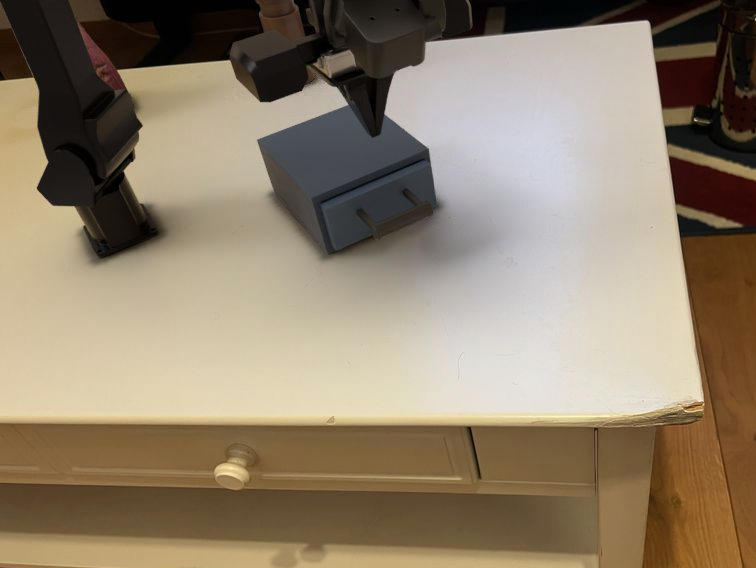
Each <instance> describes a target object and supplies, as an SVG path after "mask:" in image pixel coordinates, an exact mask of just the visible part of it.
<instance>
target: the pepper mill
mask: <svg viewBox="0 0 756 568" xmlns="http://www.w3.org/2000/svg"><path fill="white" fill-rule="evenodd" d="M255 3H256V4H258V5H259V9H260V11H259V13H258V17H259V20H260V24H261V27H262V30H263V33H265V32H268V31H271V30H276V31H277V32H278V33H280V34H281V35H282V36H283V37H285V38H286V39H287V40H289V41H290V42H292V41H295V40H298V39H300V38H303V37H306V32H305V28H304V26H303V21H302V17H301V14H300V9H299V6H298V5H297V4H295V2H294V0H255ZM306 68H307V72H308V76H309V78H308V80H307V82H306V84H305V85H307V84H309V83H310V82H311V83H312V81H313V80H314V79H315V78H316V74H315V73H314V72H313V71H311V70H310V69H309V68H308V67H307V66H306Z"/></svg>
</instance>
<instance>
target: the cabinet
mask: <svg viewBox="0 0 756 568" xmlns="http://www.w3.org/2000/svg"><path fill="white" fill-rule="evenodd" d="M256 142H257V145H258V149H259V151H260V154H261V157H262V160H263V163H264V167H265V169H266V172H267V176H268V178H269V181H270V184H271V188H272V190H273V193H274V195H275V196H276V198H278V199H279V200H280V201H281V203H282V204H283V206H285V208H287V210H288V211H289V212H290V213H291V214H292V215H293V217H294V218H295V219H296V220H297V221H298V222H299V224H300V225H301V226H302V227H303V228H304V229H305V231H306V232H307V233H308V234H309V235H310V236H311V237H312V238H313V239H314V241H315V242H316V243H317V245H319V247H320V248H321V249H322V250H323V251H324V252H325V253H326V254H327V255H330V254H332V253H334V252H337V251H336V250H335V249H334V248H333V246H332V245H331V243H330V239H329V235H328V232H327V228H326V225H325V221H324V218H323V214H322V211H321V207H320V204H321V202H322V201H324V200H326V199H329V198H331V197H334V196H336V195H338V194H341V193H343V192H345V191H348V190H350V189H352V188H355V187H357V186H360V185H362V184H364V183H367V182H369V181H371V180H374V179H376V178H378V177H381V176H383V175H386V174H388V173H390V172H393V171H395V170H397V169H400V168H402V167H405V166H407V165H409V164H412V163H413V164H415V163H418V162H420V161H422V160H426V161H428V162H429V163H430V164H431V165H432V162H431V156H430V155H431V153H430V149H429V147H427V146H426V145H425V144H423V142H421V141H419V140H418V139H417V138H416V137H415V136H413V135H412V134H411V133H410V132H408V131H407V130H406V129H404V128H403V127H402V126H401V125H399V124H398V123H396V122H395V121H394V120H392V119H391V118H390V117H389V116H388V115H386V113H385V114H384V119H383V125H382V130H381V134H380V135H379V136H376V137H374V138H372V137H371V136H369V135H368V134H367V132H366V131H365V129H364V128H363V126H362V125H361V123H360V122H359V120H358V118H357V117H356V115H355V114H354V112H353V111H352V109H351V108H350V106H349V105H348V104H346V105H344V106H342V107H339V108H336V109H333V110H331V111H328V112H326V113H324V114H320V115H318V116H315V117H312V118H310V119H307V120H305V121H302V122H300V123H297V124H294V125H292V126H289V127H286V128H284V129H281V130H278V131H276V132H273V133H271V134H268V135H265V136H262V137H260V138H258V139H256Z"/></svg>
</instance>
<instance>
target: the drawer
mask: <svg viewBox="0 0 756 568" xmlns="http://www.w3.org/2000/svg"><path fill="white" fill-rule="evenodd" d="M437 202H438V201H437V196H436V189H435V182H434V175H433V167H432V163H431V164H430V163H429V162H428V161H426V160H422V161H420V162H418V163H415V164H413V163H412V164H409V165H407V166H405V167H402V168H400V169H397V170H395V171H393V172H390V173H388V174H386V175H383V176H381V177H378V178H376V179H374V180H371V181H369V182H367V183H364V184H362V185H360V186H357V187H355V188H352V189H350V190H348V191H345V192H343V193H341V194H338V195H336V196H334V197H331V198H329V199H326V200H324V201H322V202H321V204H320V207H321V211H322V214H323V218H324V221H325V225H326V228H327V232H328V235H329V239H330V243H331V245H332V246H333V248H334V249H335V250H336V251H335V252H337V251H340V250H343V249H344V248H346V247H349V246H351V245H353V244H355V243H358V242H360V241H362V240H364V239H367V238H368V237H371V236H372V237H373V238H374V239H375V240H376V241H379V240H381V239H383V238H384V237H387V236H390V235H392V234H394V233H396V232H399V231H401V230H403V229H405V228H408V227H409V226H412V225H414V224H415V223H418V222H421V221H422V220H425V219H427V218H429V217H431V216H433V215H434V214H435V213H434V212H435V211H434V208H435V207H437V206H438V203H437Z"/></svg>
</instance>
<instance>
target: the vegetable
mask: <svg viewBox="0 0 756 568" xmlns="http://www.w3.org/2000/svg"><path fill="white" fill-rule="evenodd" d="M74 16H75V19H76V21H77V24H78V27H79V29H80V32H81V34H82V37H83V40H84V42H85V45H86V48H87V50H88V53H89V56H90V58H91V61H92V64H93V66H94V69H95V71H96V73H97V75H98V76H99V77H100V78H101V79H102V80H104V81H105V82H106V83H107V84H108V85H109V86H111V87H112V88H113V89H114V90H127V91H128V92H129V90H128V88H127V87H126V84H125V82H124V80H123V79H122V76H121V75H120V73H119V71H118V70H117V68H116V67H115V65H114V64H113V62H112V61H111V60H110V58H109V57H108V55H106V53H105V52H104V51H103V50H102V49H101V48H100V47H99V46H98V45H97V43H96V42H94V40H93V39H92V37H90V35H89V34H88V33H87V31H86V29H85V28H84V27H83V25H82V24H81V23H80V21H79V19H78V17H77V15H76V14H75V13H74ZM132 104H133V109H134V110H135V105H134V102H133V101H132Z"/></svg>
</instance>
